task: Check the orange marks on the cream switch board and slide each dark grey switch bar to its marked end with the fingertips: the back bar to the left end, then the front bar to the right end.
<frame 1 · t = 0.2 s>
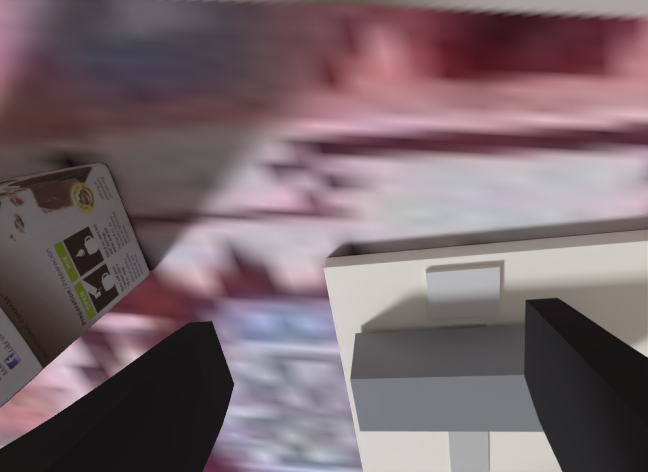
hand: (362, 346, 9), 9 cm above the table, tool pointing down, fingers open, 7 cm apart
coffee box: (58, 228, 21), on the table
switch board: (587, 394, 20), on the table
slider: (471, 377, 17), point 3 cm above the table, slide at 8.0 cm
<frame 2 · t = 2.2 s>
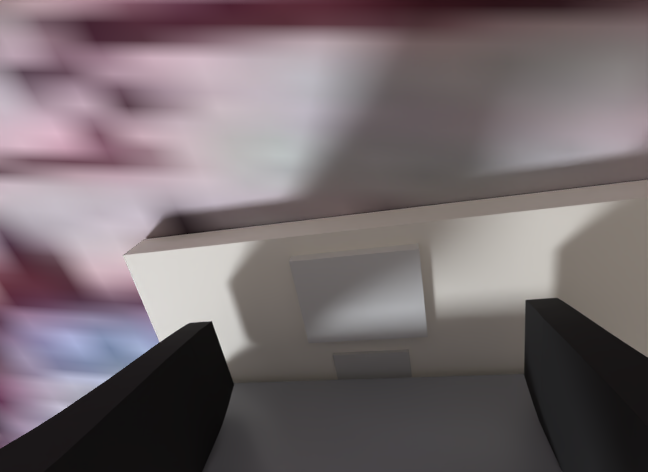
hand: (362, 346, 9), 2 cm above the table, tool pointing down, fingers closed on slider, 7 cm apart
switch board: (588, 461, 12), on the table
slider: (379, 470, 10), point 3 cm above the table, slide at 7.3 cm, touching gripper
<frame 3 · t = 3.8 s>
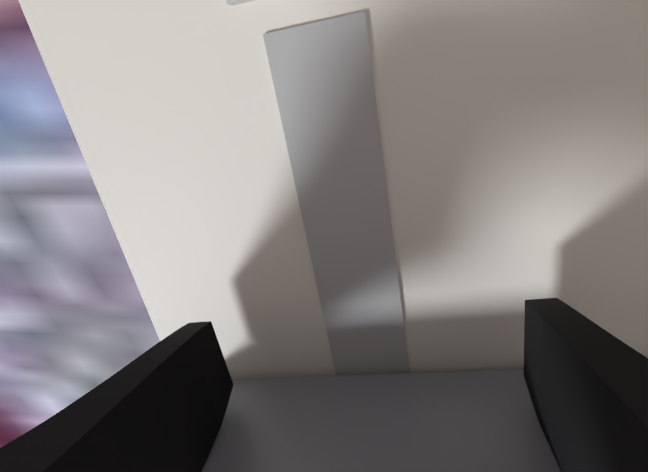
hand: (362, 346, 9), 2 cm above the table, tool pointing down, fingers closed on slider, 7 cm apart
switch board: (610, 231, 9), on the table
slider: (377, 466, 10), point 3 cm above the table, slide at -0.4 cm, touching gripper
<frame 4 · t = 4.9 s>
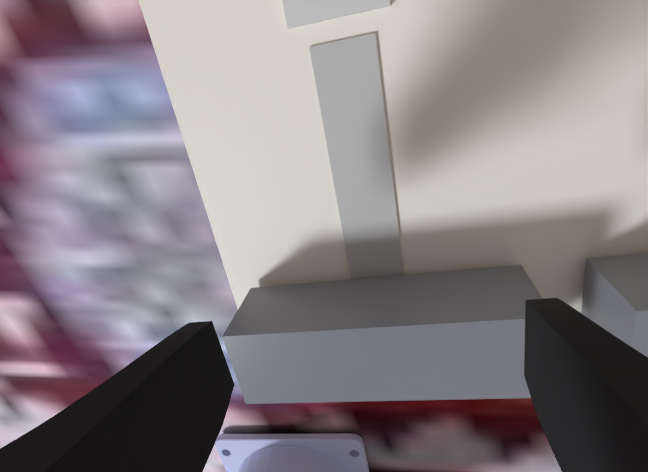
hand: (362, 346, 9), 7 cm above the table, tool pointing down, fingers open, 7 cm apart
switch board: (542, 179, 14), on the table
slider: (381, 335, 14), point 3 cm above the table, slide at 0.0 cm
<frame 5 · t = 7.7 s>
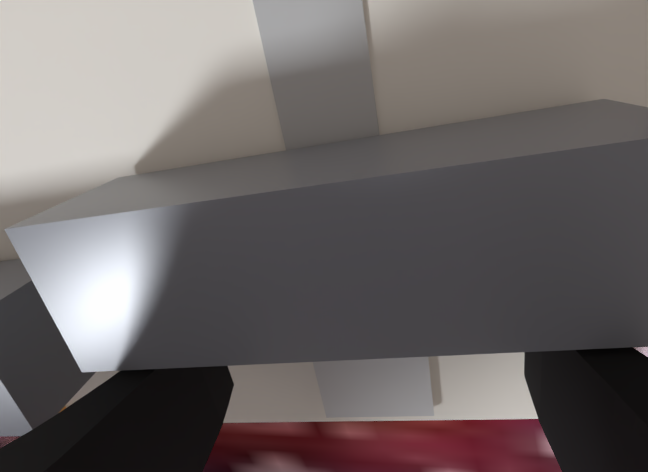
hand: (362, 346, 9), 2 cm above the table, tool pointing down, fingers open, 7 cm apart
switch board: (102, 137, 10), on the table
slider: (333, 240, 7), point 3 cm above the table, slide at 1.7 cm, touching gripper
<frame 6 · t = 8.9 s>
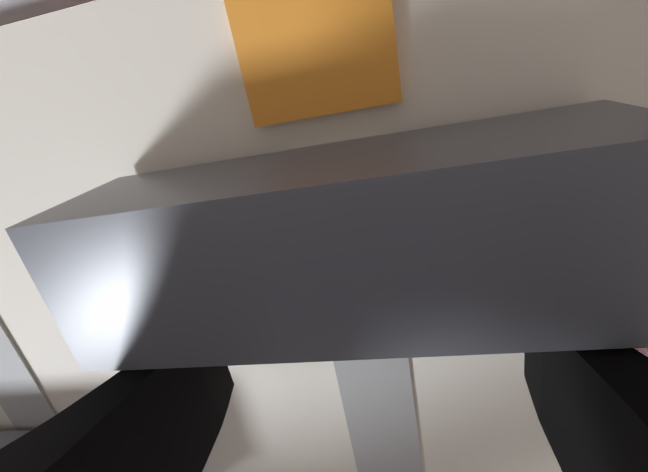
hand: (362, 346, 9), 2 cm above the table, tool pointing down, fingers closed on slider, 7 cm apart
switch board: (182, 337, 13), on the table
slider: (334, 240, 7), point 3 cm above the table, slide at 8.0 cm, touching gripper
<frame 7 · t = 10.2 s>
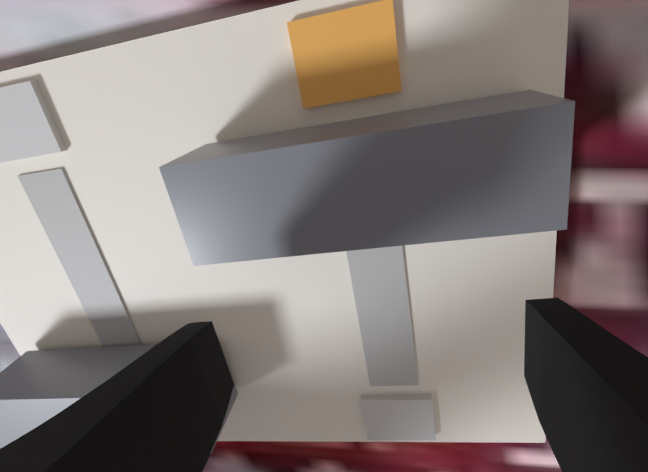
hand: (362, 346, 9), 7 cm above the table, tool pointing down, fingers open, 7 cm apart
switch board: (236, 271, 17), on the table
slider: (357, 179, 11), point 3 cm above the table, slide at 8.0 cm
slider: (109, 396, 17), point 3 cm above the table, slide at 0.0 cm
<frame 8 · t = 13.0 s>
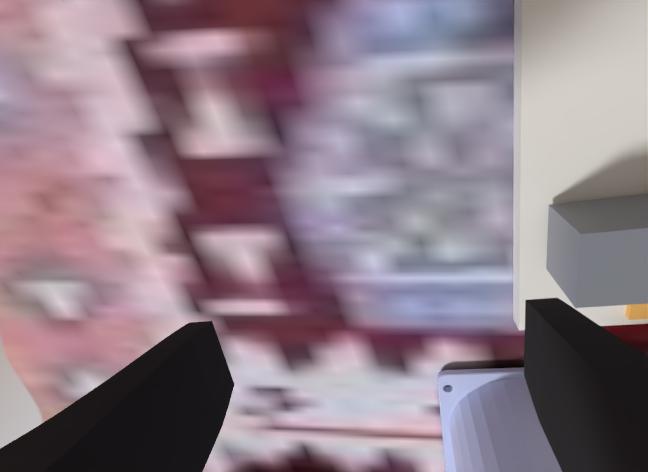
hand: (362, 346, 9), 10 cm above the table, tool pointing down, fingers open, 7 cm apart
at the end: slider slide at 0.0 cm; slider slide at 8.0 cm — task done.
